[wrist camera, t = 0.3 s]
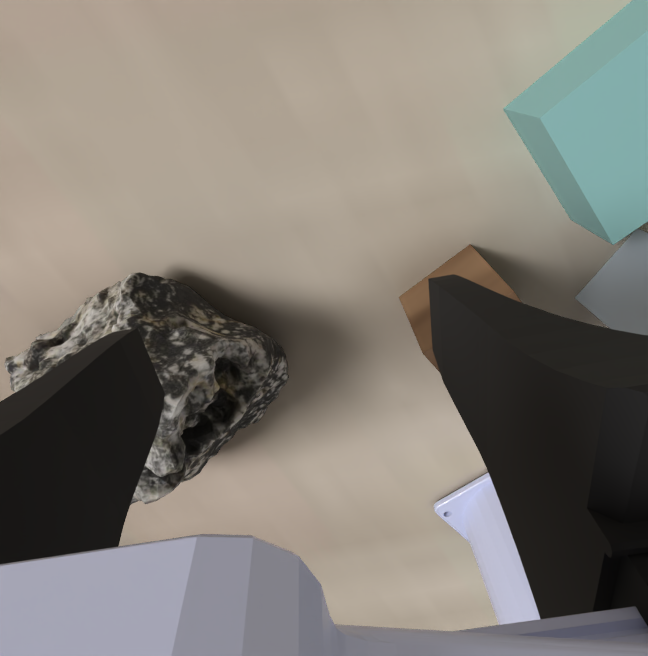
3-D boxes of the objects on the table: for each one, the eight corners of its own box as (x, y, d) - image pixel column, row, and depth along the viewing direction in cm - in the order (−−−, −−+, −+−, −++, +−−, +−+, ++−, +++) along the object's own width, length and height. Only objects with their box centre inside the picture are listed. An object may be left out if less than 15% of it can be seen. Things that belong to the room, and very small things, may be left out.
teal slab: (699, 122, 19) (774, 134, 16) (568, 218, 21) (613, 245, 18) (644, -13, 17) (718, -27, 14) (500, 108, 19) (539, 118, 16)
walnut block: (512, 302, 23) (562, 359, 19) (444, 349, 24) (476, 412, 20) (469, 243, 21) (513, 291, 17) (398, 296, 23) (422, 353, 18)
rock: (199, 171, 21) (-58, 245, 14) (349, 336, 20) (154, 501, 13) (142, 324, 30) (-28, 413, 23) (241, 439, 30) (96, 566, 23)
